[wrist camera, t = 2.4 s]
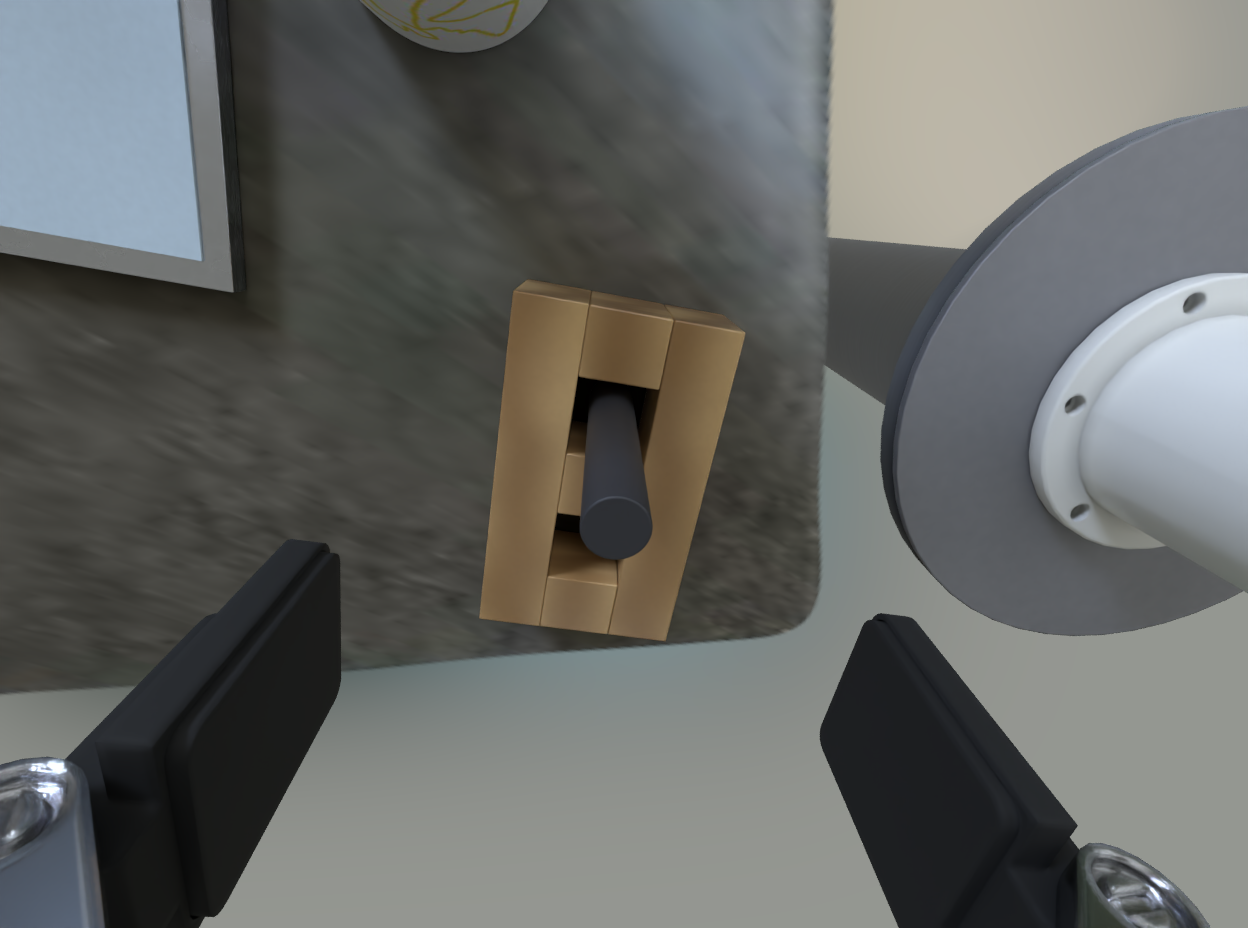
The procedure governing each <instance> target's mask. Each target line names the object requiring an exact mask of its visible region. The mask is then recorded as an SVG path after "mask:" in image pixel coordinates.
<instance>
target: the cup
mask: <svg viewBox="0 0 1248 928" xmlns="http://www.w3.org/2000/svg"><path fill="white" fill-rule="evenodd" d="M359 1H360V2H362V3H363V4H364V5H365V6H366V7H367V8H368V9H369V10H371V11H372V12H373V13H374V14H375V15H376V16H377V17H378V18H380V19H381V20H382V21H383V22H384V23H385V24H387V25H388V26H389V27H390V28H392V29H393V30H395V31H396V32H398V33H399V34H401V35H402V36H404V37H406V38H408V39H409V40H411V41H414V42H416V43H418V44H420V45H423V46H426V47H429V48H432V49H436V50H440V51H446V52H456V53H461V52H475V51H480V50H485V49H488V48H491V47H494V46H497V45H499V44H501V43H503V42H505V41H507V40H509V39H511V38H512V37H514V36H515V35H517V34H518V33H519V32H521V31H522V30H523V29H524V28H526V27H527V26H528V25H529V24H530V23H531V22H532V21H533V20H534V19H535V17H536V16H537V15H538V14H539V13H540V11H541V10H542V9H543V8H544V6H545V5H546V3H547V2H548V0H359Z"/></svg>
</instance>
